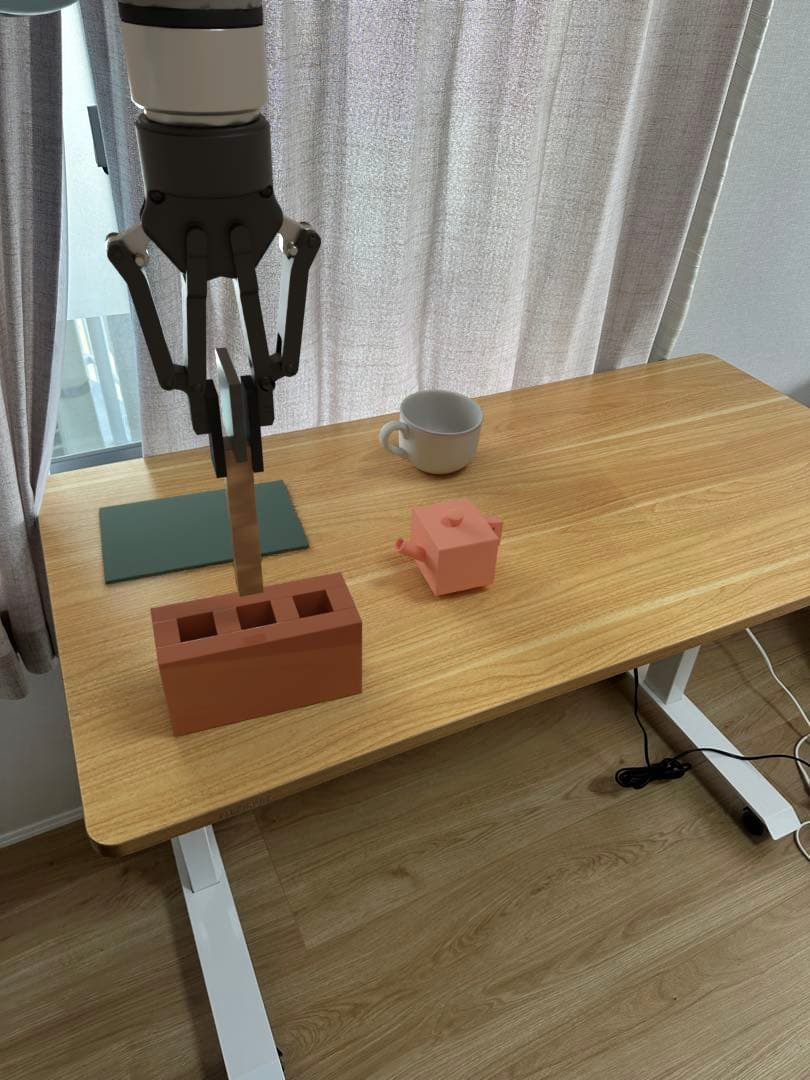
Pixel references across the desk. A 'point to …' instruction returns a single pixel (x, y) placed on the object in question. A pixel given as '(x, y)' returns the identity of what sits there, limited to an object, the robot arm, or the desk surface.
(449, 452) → the teacup
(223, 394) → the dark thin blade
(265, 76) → the robot arm
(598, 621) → the desk surface
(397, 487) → the desk surface
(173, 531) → the mat
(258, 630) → the holder
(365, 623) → the desk surface
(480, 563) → the pink cube teapot
